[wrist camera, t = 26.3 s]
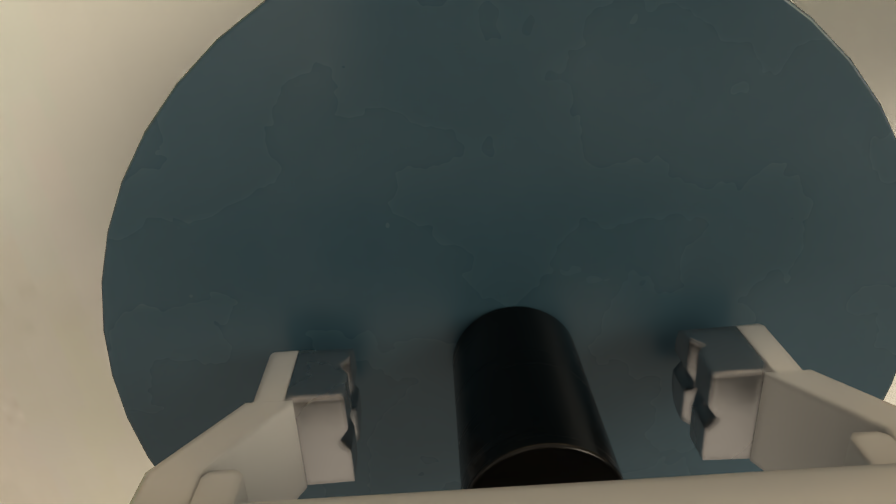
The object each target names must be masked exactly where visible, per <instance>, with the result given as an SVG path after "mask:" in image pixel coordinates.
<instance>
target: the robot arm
mask: <svg viewBox="0 0 896 504" xmlns="http://www.w3.org/2000/svg"><path fill="white" fill-rule="evenodd" d="M675 352H676V353H677V355H678V357H679V358H680V360H681V361H680V362H679V363H678V365H677V366H676V367H675V368H674V369H673V371H672V394H673V401H674V405H675V408H676V411H677V413H678V415H679V417H680V419H681V420H683V421H684V422H686V423H688V424H689V425H690V432H689V436H690V438H691V440H692V442H693V444H694V445H695V447H696V449H697V451H698V453H699V455H700V457H701V459H702V460H722V459H750V461H751V462H753V463H754V464H755V465H757V466H758V467H760V468H761V469H762V470H764V471H759V472H742V473H726V474H709V475H693V476H676V477H660V478H643V479H627V480H610V481H593V482H577V483H560V484H544V485H527V486H511V487H494V488H477V489H461V490H444V491H428V492H411V493H394V494H378V495H361V496H345V497H328V498H312V499H298V498H299V496H300V495H301V494H302V493H303V492H304V491H305V490H306V488H307V485H314V484H326V483H337V482H349V481H355V474H356V467H357V459H358V451H357V443H356V442H357V441H358V440H359V439H360V434H361V399H360V390H359V388H358V387H357V386H356V385H355V379H356V372H357V366H356V359H355V353H354V350H353V349H331V350H305V351H284V352H274V353H272V354H271V355H270V357H269V360H268V363H267V366H266V368H265V371H264V374H263V377H262V379H261V382H260V385H259V388H258V391H257V393H256V396H255V399H254V402H252V403H245V404H243V405H242V406H241V407H239V408H238V409H236V410H235V411H233V412H232V413H231V414H229V415H228V416H226V417H225V418H223V419H222V420H220V421H219V422H218V423H216V424H215V425H213V426H212V427H210V428H209V429H208V430H206V431H205V432H203V433H202V434H200V435H199V436H198V437H196V438H195V439H193V440H192V441H190V442H189V443H188V444H186V445H185V446H183V447H182V448H180V449H179V450H178V451H176V452H175V453H173V454H172V455H170V456H169V457H168V458H166V459H165V460H163V461H162V462H160V463H159V464H157V465H156V466H155V467H153V468H152V469H150V470H149V471H147V472H146V473H145V475H144V477H143V479H142V481H141V483H140V485H139V486H138V488H137V490H136V492H135V494H134V496H133V498H132V500H131V502H130V504H896V406H895V405H892V404H890V403H888V402H885V401H883V400H881V399H878V398H876V397H874V396H871V395H869V394H867V393H864V392H862V391H860V390H857V389H855V388H853V387H850V386H848V385H846V384H843V383H841V382H839V381H836V380H834V379H832V378H829V377H827V376H825V375H822V374H820V373H818V372H815V371H813V370H802V369H801V368H800V366H799V365H798V364H797V363H796V362H795V361H794V360H793V358H792V357H791V356H790V355H789V354H788V353H787V351H786V350H785V349H784V348H783V347H782V346H781V345H780V343H779V342H778V341H777V340H776V339H775V338H774V337H773V335H772V334H771V333H770V332H769V331H768V330H767V328H766V327H765V326H764V325H761V324H759V323H758V324H747V325H737V326H727V327H715V328H703V329H691V330H680V331H678V334H677V337H676V343H675Z"/></svg>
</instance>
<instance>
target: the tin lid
mask: <svg viewBox="0 0 896 504" xmlns="http://www.w3.org/2000/svg"><path fill="white" fill-rule="evenodd" d="M102 301H103V327H104V335H105V340H106V345H107V350H108V355H109V360H110V366H111V371H112V376H113V379H114V381H115V384H116V387H117V390H118V393H119V396H120V398H121V401H122V404H123V407H124V410H125V412H126V415H127V418H128V420H129V422H130V424H131V426H132V428H133V430H134V431H135V433H136V435H137V437H138V439H139V441H140V443H141V445H142V447H143V449H144V450H145V452H146V454H147V456H148V458H149V459H150V461H151V462H152V463H153V465H154V466H156V465H157V464H159V463H160V462H162V461H163V460H165V459H166V458H168V457H169V456H170V455H172V454H173V453H175V452H176V451H178V450H179V449H180V448H182V447H183V446H185V445H186V444H188V443H189V442H190V441H192V440H193V439H195V438H196V437H198V436H199V435H200V434H202V433H203V432H205V431H206V430H208V429H209V428H210V427H212V426H213V425H215V424H216V423H218V422H219V421H220V420H222V419H223V418H225V417H226V416H228V415H229V414H231V413H232V412H233V411H235V410H236V409H238V408H239V407H241V406H242V405H243V404H245V403H252V402H254V399H255V396H256V393H257V391H258V388H259V385H260V382H261V379H262V377H263V374H264V371H265V368H266V366H267V363H268V360H269V357H270V355H271V354H272V353H274V352H284V351H305V350H331V349H353V350H354V353H355V359H356V366H357V372H356V379H355V385H356V386H357V387H358V388H359V390H360V399H361V434H360V439H359V440H358V441H357V442H356V443H357V451H358V459H357V467H356V474H355V481H349V482H337V483H326V484H314V485H307V488H306V490H305V491H304V492H303V493H302V494H301V495H300V496H299V498H298V499H312V498H328V497H345V496H361V495H378V494H394V493H411V492H428V491H444V490H461V489H477V488H494V487H511V486H527V485H544V484H560V483H577V482H593V481H610V480H627V479H643V478H660V477H676V476H693V475H709V474H726V473H742V472H759V471H764V470H762V469H761V468H760V467H758V466H757V465H755V464H754V463H753V462H751V461H750V459H722V460H702V459H701V457H700V455H699V453H698V451H697V449H696V447H695V445H694V444H693V442H692V440H691V438H690V436H689V432H690V425H689V424H688V423H686V422H684V421H683V420H681V419H680V417H679V415H678V413H677V411H676V408H675V405H674V401H673V394H672V371H673V369H674V368H675V367H676V366H677V365H678V363H679V362H680V361H681V360H680V358H679V357H678V355H677V353H676V352H675V343H676V337H677V334H678V331H680V330H691V329H703V328H715V327H727V326H737V325H747V324H758V323H759V324H761V325H764V326H765V327H766V328H767V330H768V331H769V332H770V333H771V334H772V335H773V337H774V338H775V339H776V340H777V341H778V342H779V343H780V345H781V346H782V347H783V348H784V349H785V350H786V351H787V353H788V354H789V355H790V356H791V357H792V358H793V360H794V361H795V362H796V363H797V364H798V365H799V366H800V368H801V369H802V370H813V371H815V372H818V373H820V374H822V375H825V376H827V377H829V378H832V379H834V380H836V381H839V382H841V383H843V384H846V385H848V386H850V387H853V388H855V389H857V390H860V391H862V392H864V393H867V394H869V395H871V396H874V397H876V398H878V399H881V400H884V398H885V396H886V394H887V392H888V390H889V388H890V386H891V384H892V382H893V379H894V376H895V373H896V138H895V135H894V133H893V131H892V129H891V127H890V124H889V122H888V120H887V118H886V115H885V113H884V111H883V109H882V107H881V104H880V103H879V101H878V100H877V98H876V97H875V95H874V94H873V92H872V91H871V89H870V88H869V86H868V85H867V83H866V82H865V80H864V79H863V77H862V76H861V74H860V73H859V71H858V70H857V68H856V67H855V65H854V64H853V62H852V61H851V59H850V58H849V57H848V56H847V55H846V54H845V53H844V51H843V50H842V49H841V48H840V47H839V46H838V45H837V44H836V43H835V42H834V41H833V40H832V39H831V38H830V37H829V36H828V34H827V33H826V32H825V31H824V30H823V29H822V28H821V27H820V26H819V25H818V24H817V23H816V22H815V21H814V20H813V19H812V17H810V16H809V15H808V14H806V13H805V12H804V11H802V10H801V9H800V8H798V7H797V6H796V5H795V4H793V3H792V2H791V1H789V0H265V1H263V2H262V3H261V4H260V5H258V6H257V7H256V8H255V9H254V10H252V11H251V12H250V13H249V14H247V15H246V16H245V17H244V18H242V19H241V20H240V21H239V22H238V23H236V24H235V25H234V26H233V27H231V28H230V29H229V30H228V31H227V32H225V33H224V34H223V35H222V36H220V37H219V38H218V39H217V40H216V41H215V42H214V43H213V44H212V45H211V46H210V48H209V49H208V50H207V51H206V52H205V53H204V54H203V55H202V56H201V57H200V59H199V60H198V61H197V62H196V63H195V64H194V65H193V66H192V67H191V68H190V69H189V71H188V72H187V73H186V74H185V75H184V76H183V77H182V78H181V79H180V80H179V82H178V83H177V84H176V85H175V87H174V88H173V90H172V91H171V93H170V94H169V96H168V97H167V99H166V100H165V102H164V103H163V105H162V106H161V108H160V109H159V111H158V112H157V114H156V115H155V117H154V118H153V120H152V121H151V123H150V124H149V126H148V127H147V129H146V130H145V132H144V134H143V136H142V139H141V141H140V143H139V145H138V147H137V149H136V152H135V154H134V156H133V158H132V160H131V162H130V165H129V167H128V169H127V171H126V173H125V176H124V178H123V180H122V182H121V186H120V189H119V193H118V197H117V200H116V204H115V207H114V211H113V214H112V218H111V221H110V225H109V228H108V233H107V241H106V249H105V258H104V266H103V275H102Z"/></svg>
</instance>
